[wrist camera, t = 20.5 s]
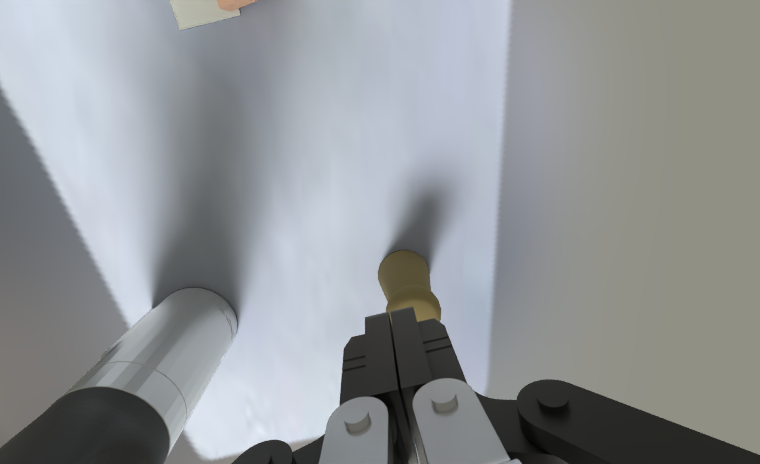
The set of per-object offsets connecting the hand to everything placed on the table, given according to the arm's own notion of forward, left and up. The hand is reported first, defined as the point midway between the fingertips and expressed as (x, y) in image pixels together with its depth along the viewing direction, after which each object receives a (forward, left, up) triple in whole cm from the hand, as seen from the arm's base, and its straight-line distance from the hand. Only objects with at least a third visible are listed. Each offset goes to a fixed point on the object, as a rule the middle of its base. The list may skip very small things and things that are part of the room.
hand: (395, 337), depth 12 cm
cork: (+1, -12, -32) cm, 34 cm away
